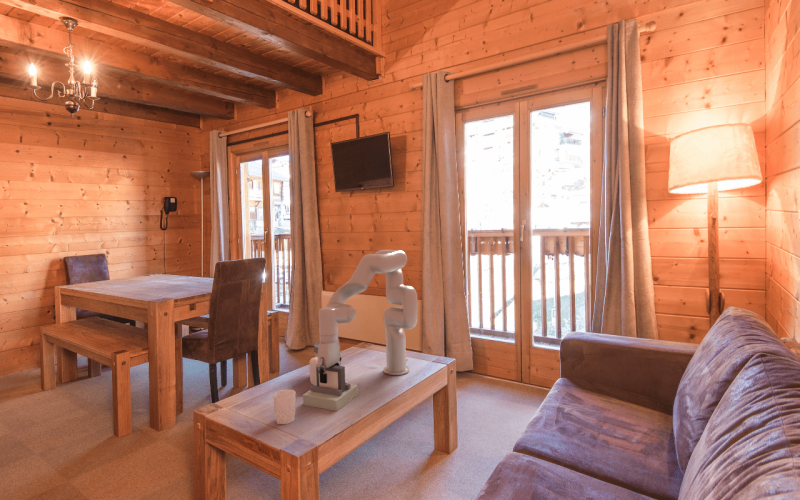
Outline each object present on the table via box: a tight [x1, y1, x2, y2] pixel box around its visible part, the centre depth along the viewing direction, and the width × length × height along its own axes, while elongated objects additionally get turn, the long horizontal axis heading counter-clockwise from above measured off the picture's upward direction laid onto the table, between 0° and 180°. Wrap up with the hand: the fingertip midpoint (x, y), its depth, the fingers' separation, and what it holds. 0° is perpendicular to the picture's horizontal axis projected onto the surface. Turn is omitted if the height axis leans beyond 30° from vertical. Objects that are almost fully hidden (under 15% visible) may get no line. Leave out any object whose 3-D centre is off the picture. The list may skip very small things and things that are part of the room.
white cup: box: [273, 389, 297, 425], centre depth 147 cm, size 8×8×10 cm
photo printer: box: [309, 356, 318, 386], centre depth 180 cm, size 10×4×12 cm, turn 39°
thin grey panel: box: [316, 365, 346, 393], centre depth 164 cm, size 3×12×10 cm, turn 66°
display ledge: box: [302, 382, 359, 412], centre depth 164 cm, size 16×16×6 cm
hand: (330, 378), depth 164 cm, fingers open, 9 cm apart
